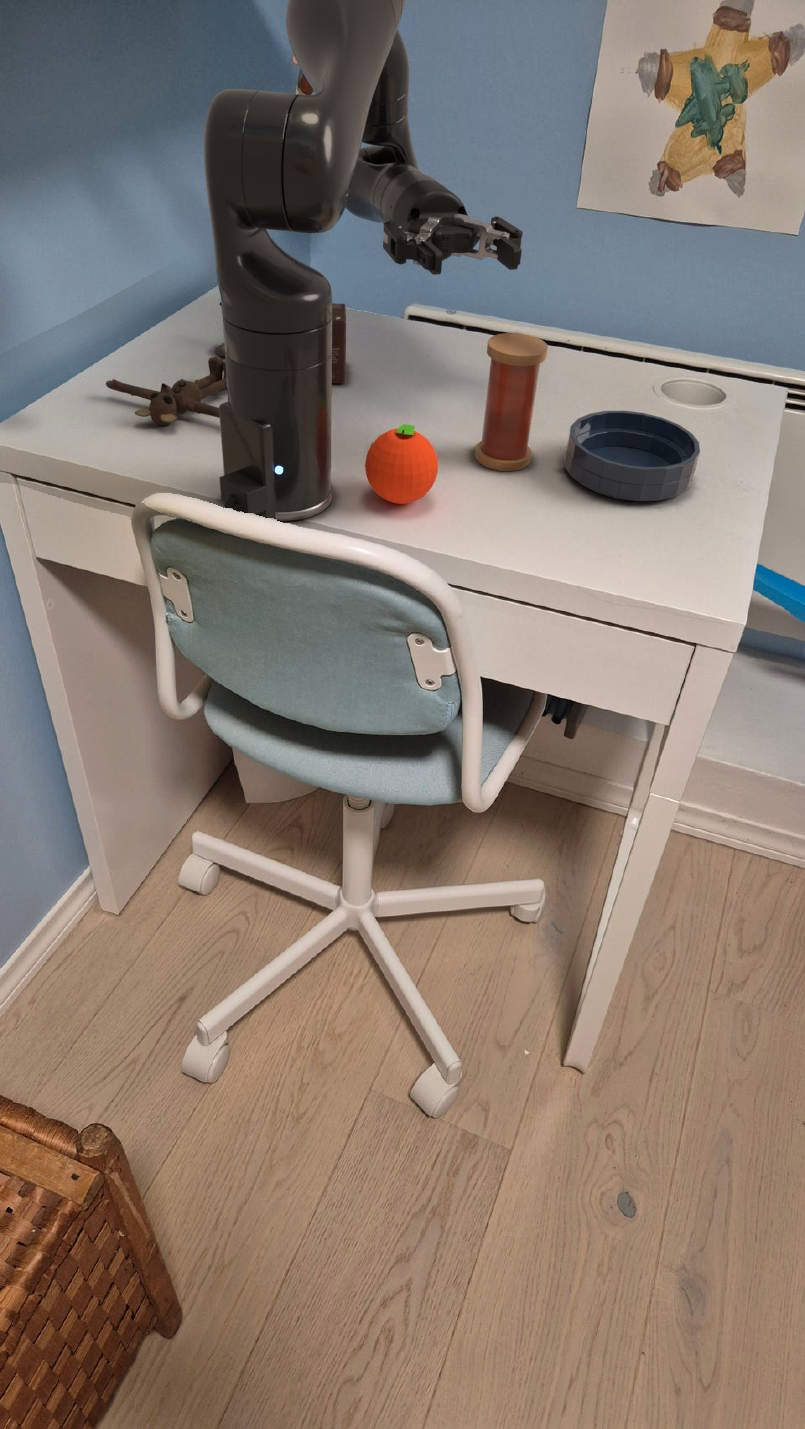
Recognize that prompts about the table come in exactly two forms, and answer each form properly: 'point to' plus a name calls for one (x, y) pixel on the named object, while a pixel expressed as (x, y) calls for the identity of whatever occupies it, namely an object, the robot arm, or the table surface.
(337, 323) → the box
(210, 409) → the bear figurine
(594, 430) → the bowl
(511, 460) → the spool
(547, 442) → the table surface
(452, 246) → the robot arm
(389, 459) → the clementine
